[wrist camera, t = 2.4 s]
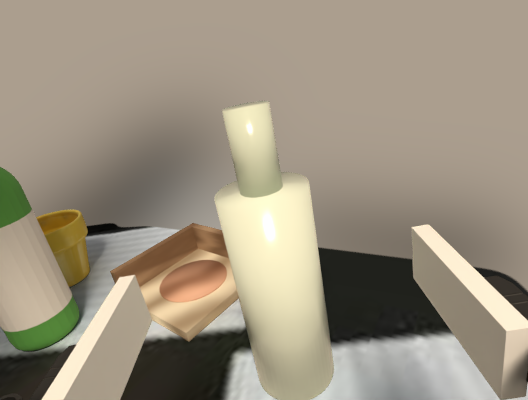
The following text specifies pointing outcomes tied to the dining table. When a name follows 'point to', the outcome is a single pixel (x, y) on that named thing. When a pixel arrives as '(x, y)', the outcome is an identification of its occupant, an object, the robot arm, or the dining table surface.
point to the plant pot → (67, 242)
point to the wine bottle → (29, 276)
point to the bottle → (274, 260)
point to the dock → (184, 279)
